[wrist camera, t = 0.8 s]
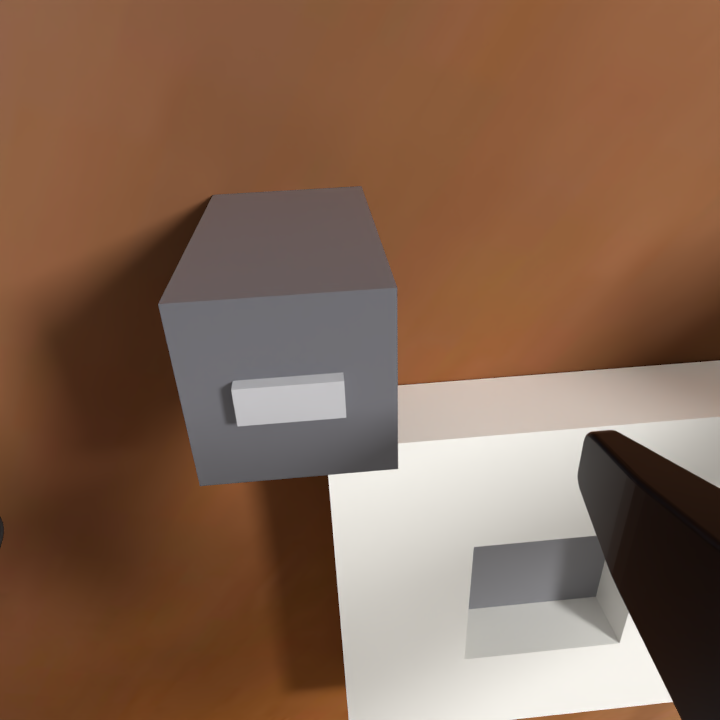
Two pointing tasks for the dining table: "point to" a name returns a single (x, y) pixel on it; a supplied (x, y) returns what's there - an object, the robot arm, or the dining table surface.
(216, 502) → the dining table surface
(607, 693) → the outlet plate
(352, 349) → the grey square peg
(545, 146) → the dining table surface
